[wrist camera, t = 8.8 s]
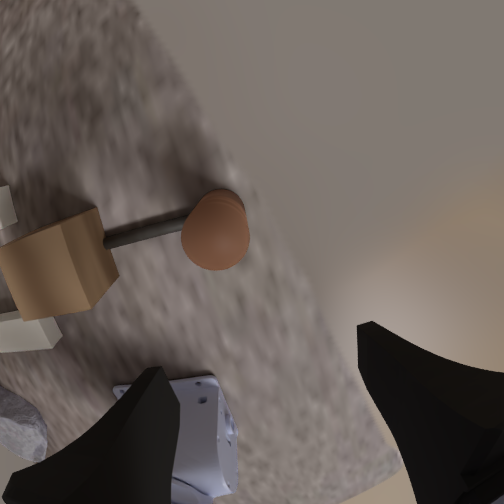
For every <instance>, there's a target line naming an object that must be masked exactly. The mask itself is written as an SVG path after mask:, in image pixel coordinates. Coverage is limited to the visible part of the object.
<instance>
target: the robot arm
mask: <svg viewBox="0 0 504 504" xmlns="http://www.w3.org/2000/svg"><path fill="white" fill-rule="evenodd" d="M357 345H358V368H359V371H360V373H361V376H362V378H363V381H364V383H365V386H366V388H367V390H368V392H369V394H370V396H371V397H372V399H373V401H374V403H375V404H376V406H377V408H378V410H379V411H380V413H381V415H382V417H383V418H384V420H385V421H386V424H387V425H388V427H389V429H390V430H391V433H392V435H393V437H394V438H395V441H396V443H397V446H398V448H399V451H400V453H401V456H402V458H403V461H404V464H405V467H406V470H407V472H408V475H409V478H410V481H411V484H412V488H413V491H414V494H415V498H416V501H417V504H504V373H502V372H494V371H489V370H484V369H479V368H475V367H470V366H467V365H463V364H460V363H457V362H454V361H451V360H448V359H445V358H443V357H440V356H438V355H435V354H433V353H431V352H429V351H427V350H424V349H422V348H420V347H418V346H416V345H414V344H412V343H410V342H409V341H407V340H405V339H403V338H401V337H399V336H398V335H396V334H394V333H392V332H391V331H389V330H387V329H386V328H384V327H382V326H380V325H378V324H377V323H375V322H373V321H370V322H367V323H364V324H360V325H357ZM197 382H200V383H197ZM122 390H124V391H122ZM113 393H114V394H115V396H116V397H117V399H118V401H117V402H116V403H115V404H114V405H113V406H112V407H111V408H110V409H109V411H108V412H107V413H106V414H105V415H104V416H103V417H102V418H101V419H100V420H99V421H98V422H97V423H96V424H94V425H93V426H92V427H91V428H90V429H89V430H88V431H86V432H85V433H84V434H83V435H82V436H80V437H79V438H78V439H76V440H75V441H73V442H72V443H71V444H69V445H68V446H66V447H65V448H63V449H62V450H60V451H59V452H57V453H55V454H54V455H52V456H50V457H48V458H47V459H45V460H43V461H41V462H39V463H37V464H34V465H32V466H30V467H27V468H25V469H22V470H20V471H17V472H14V473H13V474H12V475H11V477H10V480H9V482H8V484H7V486H6V489H5V491H4V493H3V495H2V499H3V500H4V502H5V503H6V504H213V498H215V497H218V496H222V495H227V494H231V493H234V492H236V490H237V485H238V461H237V435H238V429H237V427H236V424H235V422H234V420H233V417H232V415H231V413H230V410H229V408H228V405H227V403H226V400H225V398H224V395H223V393H222V390H221V388H220V385H219V383H218V380H217V378H216V377H215V376H213V375H207V376H200V377H193V378H186V379H179V380H171V381H169V380H168V378H167V376H166V374H165V372H164V370H163V368H162V366H159V367H151V368H147V369H146V370H145V371H144V372H143V373H142V374H141V375H140V376H139V377H138V378H137V379H136V380H135V382H134V383H133V384H131V385H118V386H114V388H113Z"/></svg>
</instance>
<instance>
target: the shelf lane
mask: <svg viewBox="0 0 504 504" xmlns="http://www.w3.org/2000/svg"><path fill="white" fill-rule="evenodd" d="M16 222H18V220H17V216H16V213H15V209H14V205H13V201H12V197H11V193H10V189H9V185H7V186H3V187H0V230H1V229H3V228H5V227H8V226H10V225H12V224H14V223H16ZM62 336H63V335H62V333H61V331H60V329H59V327H58V325H57V323H56V321H55V319H54V317H48V318H42V319H37V320H31V321H25V322H24V321H23V319H22V317H21V315H20V313H19V310H17V311H12V312H7V313H2V314H0V353H5V352H19V351H32V350H43V349H53V347H54V346H55V345H56V344H57V342H58V341H59V340H60V338H61V337H62Z"/></svg>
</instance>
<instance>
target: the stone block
mask: <svg viewBox="0 0 504 504" xmlns="http://www.w3.org/2000/svg"><path fill="white" fill-rule="evenodd" d="M46 436H47V425H46V424H45V422H44V420H43V418H42V416H41V414H40V413H39V411H38V410H37V408H36V407H34V406H33V405H32V404H30V403H29V402H27V401H26V400H25V399H23V398H22V397H20V396H18V395H16V394H14V393H12V392H10V391H8V390H6V389H4V388H3V387H2V386H0V443H1V444H2V445H3V446H5V447H6V448H8V449H9V451H11V452H13V453H14V454H16V455H18V456H20V457H21V458H24V459H27V460H30V461H33V462H41V461H43V460H45V453H46V448H47V438H46Z"/></svg>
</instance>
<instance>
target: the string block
mask: <svg viewBox="0 0 504 504" xmlns="http://www.w3.org/2000/svg"><path fill="white" fill-rule="evenodd" d="M181 230H182V232H181V242H182V246H183V249H184V251H185V253H186V255H187V256H188V257H189V259H190V260H191V261H192V262H194V263H195V264H196V265H198V266H200V267H202V268H204V269H208V270H224V269H227V268H230V267H232V266H234V265H235V264H237V263H238V262H239V261H240V260H241V259H242V258H243V257H244V255H245V253H246V252H247V249H248V246H249V241H250V234H249V228H248V223H247V218H246V213H245V208H244V204H243V202H242V200H241V199H240V198H239V196H238V195H236V194H235V193H234V192H232V191H229V190H226V189H216V190H212V191H210V192H208V193H207V194H206V195H204V196H203V198H202V199H201V200H200V201H199V203H198V204H197V205H196V207H195V208H194V209H193V211H192V212H191V213H190V215H187V216H183V217H179V218H176V219H172V220H168V221H164V222H160V223H157V224H153V225H149V226H145V227H142V228H138V229H135V230H131V231H127V232H124V233H120V234H117V235H113V236H110V237H106V235H105V232H104V229H103V225H102V222H101V219H100V215H99V212H98V208H97V207H96V208H93V209H90V210H87V211H84V212H82V213H79V214H76V215H73V216H70V217H68V218H65V219H62V220H59V221H57V222H54V223H51V224H49V225H46V226H44V227H41V228H39V229H36V230H34V231H32V232H30V233H27V234H25V235H23V236H21V237H19V238H17V239H15V240H13V241H11V242H9V243H7V244H5V245H3V246H2V247H0V267H1V270H2V272H3V275H4V277H5V280H6V283H7V285H8V287H9V290H10V292H11V295H12V297H13V299H14V302H15V304H16V306H17V308H18V310H19V313H20V315H21V317H22V319H23V321H24V322H25V321H31V320H37V319H42V318H48V317H53V316H59V315H64V314H70V313H75V312H80V311H85V310H91V309H92V308H93V307H94V306H95V304H96V303H97V302H98V301H99V300H100V298H101V297H102V296H103V295H104V294H105V292H106V291H107V290H108V289H109V288H110V286H111V285H112V284H113V283H114V282H115V281H116V279H117V278H118V277H119V273H118V270H117V268H116V265H115V262H114V259H113V256H112V253H111V250H110V249H112V248H115V247H119V246H123V245H126V244H130V243H134V242H138V241H141V240H145V239H149V238H153V237H157V236H161V235H165V234H169V233H173V232H177V231H181Z"/></svg>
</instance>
